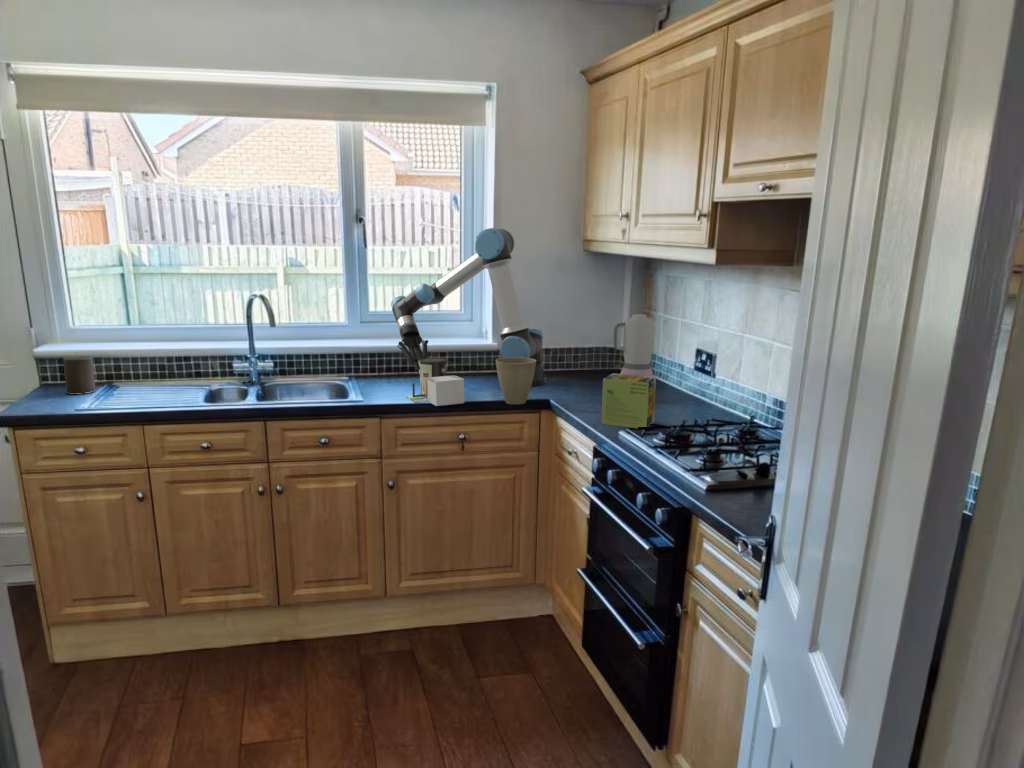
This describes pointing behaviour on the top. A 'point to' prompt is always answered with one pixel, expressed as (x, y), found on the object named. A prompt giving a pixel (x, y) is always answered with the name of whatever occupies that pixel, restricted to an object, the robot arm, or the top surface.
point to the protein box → (628, 400)
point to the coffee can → (431, 369)
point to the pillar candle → (79, 374)
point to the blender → (636, 344)
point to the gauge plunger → (424, 390)
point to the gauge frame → (443, 391)
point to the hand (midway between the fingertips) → (423, 375)
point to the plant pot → (515, 378)
